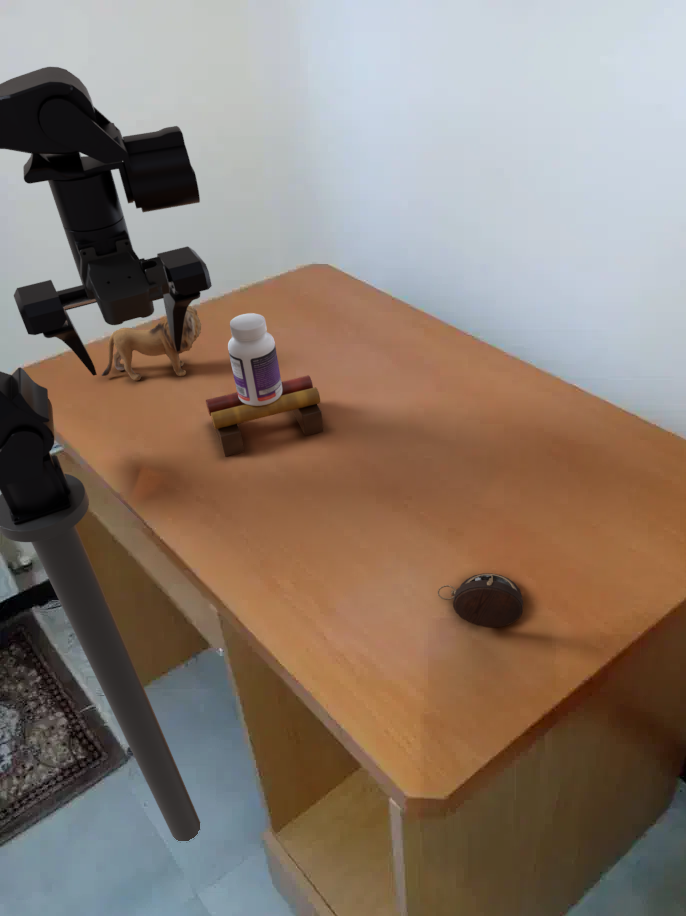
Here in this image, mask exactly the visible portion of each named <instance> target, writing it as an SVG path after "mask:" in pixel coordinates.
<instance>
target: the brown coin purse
mask: <svg viewBox="0 0 686 916" xmlns="http://www.w3.org/2000/svg"><path fill="white" fill-rule="evenodd" d="M446 587H447V588H451V589H452V590H450V596H452V597H448V598H447V597H443V596H441V594H440V591H441V590H442V589H443V588H446ZM437 596H438V597H439V598H440V599H442V600H444V601H450V600H452V601H453V603H452V604H453V606H452V607H453V609H454V611H455V613H456V614H457V615H458V616H459V617H460V618H461V619H462V620H464V621H466V622H467V623H470V624H472V625H475V626H478V627H484V628H498V627H505V626H508V625H511V624H513V623H515V622H516V621H518V620H519V619H520V618H521V617H522V615H523V611H524V610H523V609H524V600H523V594H522V592H521V589H520V588H519V586H518V585H517V584H516V583H515V582H514V581H513V580H511V579H510V578H508V577H506V576H503V575H501V574H497V573H492V572H491V573H489V572H488V573H487V572H486V573H479V574H474V575H472V576H470V577H469V578H466V579H465V580H464V581H463V582H462V583H461V584H460V586H459V587H458V588H457V589H456V587H454V586H453V585H449V584H446V585H445V584H444V585H442V586H440V587H439V588H438V590H437Z"/></svg>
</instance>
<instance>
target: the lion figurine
mask: <svg viewBox="0 0 686 916" xmlns="http://www.w3.org/2000/svg"><path fill="white" fill-rule="evenodd" d="M202 324H203V323H202V322H201V319H200V316H199V314H198V309H197V308H196V307H193V306H191V305H189V306H188V308H187V311H186V315H185V319H184V325H183V333H182V341H181V349H180V351H178V352H176V350H175V348H174V345H173V342H172V339H171V336H170V332H169V326H168V321H167V316H166V317H164V319H163V320H159V322H158V323H157V324H156V325H155V326H154V327H153V328H151V329H150V328H149V329H136V328H132V327H121V328H119V329H116V330H114V331H113V332H112V333H111V335H110V337H109V339H108V347H107V348H108V364H107V367H106V368H105V369H104V371H103V372H102V373H101V376H102V377H106V376H109V374H110V372H111V370H112V366H113V364H114V368H115V370H117V371H125V372H126V373H127V374H128V375H129V377H130V379H132V380H133V381H136V382H137V381H140V380H141V379H142V374H140V373H136V372H135V371H134V370H133V368H132V362H133V352H134V351H135V352H138V353H139V354H142V355H143V356H148V357H158V356H163V355H166V356H167V358H168V359H169V360H170V362H171V365H172V368H173V371H174V373H175V374H176V375H177V376H178V377H184V376H185V375H186V374H187V371H186V370H185V369H182V367H183V366H184V364H185V363H184V361H183V360H181V357H180V354H183V353H185V352H189V351H191V349H192V347H193V344H194V343H195V341H197V339H198V338H199V337H200V334H201V331H202V326H203V325H202ZM114 346H115V348H116V352H115V353H114ZM121 360H122V361H123V363H121Z"/></svg>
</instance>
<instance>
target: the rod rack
mask: <svg viewBox="0 0 686 916" xmlns="http://www.w3.org/2000/svg"><path fill="white" fill-rule="evenodd" d="M281 382H282V394H281V396H280V397H279V398H278V399H277V400H276V401H274V402H272V403H270V404H267V405H262V406H251V405H247V404H245V403H243V402H242V401H241V400H240V399H239V397H238V394H237V391H236V392H233V393H229V394H224V395H220V396H215V397H213V398H207V399H205V405H206V409H207V412H208V415H209V417H210V418H211V423H212V427H213V429H214V432H215V434H216V437H217V439H218V443H219V444H220V447H221V449H222V453H223V455H224V457H225V458H226V457H229V456H233V455H238V454H241V453H244V452H245V447H244V441H243V437H242V431H241V430H240V427H239V425H238V424H242V423H246V422H250V421H254V420H259V419H263V418H266V417H271V416H275V415H279V414H283V413H286V412H290V411H291V412H292V414H293V416H294V418H295V420H296V422H297V423H298V426H299V427H300V429H301V431H302V433H303V435H304V436H305V437H307V436H310V435H315V434H318V433H323V432H324V430H325V429H324V422H323V415H322V410H321V408H320V406H319V404H321V396H320V392H319V390H318V387H315V386H314V385H313V380H312V378H311V376H310V374H308V375H304V376H299V377H295V378H291V379H287V380H281ZM313 386H314V387H313Z"/></svg>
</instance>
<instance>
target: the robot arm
mask: <svg viewBox="0 0 686 916" xmlns="http://www.w3.org/2000/svg"><path fill="white" fill-rule="evenodd" d="M91 97H92V96H91V95H90V93H89V90H88V88H87V86H86V85H85V84H84V83H83V82H82V80H81V79H80V78H79V77H78V76H76V75H75V74H74V73H72V72H71V71H69V70H68V69H65V68H62V67H59V66H45V67H41V68H38V69H35V70H32V71H30V72H27V73H24V74H21V75H17V76H15V77H12V78H9V79H8V80H5V81H3V82H1V83H0V150H8V151H14V152H19V153H26V154H30V157H29V158H28V160H27V161H26V162H25V164H24V165H23V181H24V182H25V183H26V184H36V183H42V182H47V183H48V185H49V188H50V191H51V194H52V197H53V201H54V203H55V206H56V209H57V213H58V215H59V218H60V222H61V225H62V228H63V230H64V235H65V237H66V240H67V243H68V245H69V248H70V251H71V254H72V257H73V260H74V263H75V266H76V270H77V272H78V277H79V279H80V280H81V281H80V282H81V284H80V285H75V286H73V287H68V288H65V289H60V290H56V287H55V285H54V282H53V281H52V279H48V280H44V281H40V282H36V283H32V284H28V285H24V286H20V287H16V289H15V291H14V294H13V298H14V301H15V304H16V306H17V309H18V312H19V315H20V317H21V320H22V322H23V325H24V328H25V330H26V332H27V335H31V336H37V335H41V334H42V335H43V338H46V339H52V338H57V339H58V340H60V341H62V343H64V344H65V345H66V346H67V347H68V348H70V350H71V351H72V352H73V353H74V354H75V356H77V358H78V359H79V360H80V361H81V363H82V364H83V365H84V366H85V367H86V369H87V370H88V371H89V372H90V374H91V375H92V376H93V377H94V376H97V375H98V373H97V371H96V367H95V365H94V362H93V360H92V357H91V356H90V354H89V352H88V350H87V348H86V346H85V344H84V342H83V340H82V339H81V336H80V335H79V333H78V331H77V329H76V326H75V325H74V323H73V321H72V320H71V319H72V318H71V317H70V314H69V313H68V310H73V309H77V308H81V307H84V306H88V305H92V304H97V306H98V308H99V310H100V312H101V315H102V318H103V321H104V322H105V323H106V324H107V325H110V326H119V325H122V324H123V323H124V322H128V321H132V320H135V319H139V318H142V319H145V318H148V317H151V316H152V315H153V314H154V312H155V306H154V301H159V300H162V299H163V304H164V310H165V316H166V317H167V321H168V326H169V332H170V336H171V339H172V342H173V345H174V348H175V350H176V352H178V351H180V349H181V341H182V333H183V325H184V319H185V315H186V311H187V308H188V306H190V305H191V304H192V302H193V301H196V300H198V299H199V298H201V292H204V291H207V290H209V289H211V288H212V286H213V284H212V280H211V276H210V271H209V269H208V266H207V264H206V262H205V261H204V260H203V259H202V257H201V256H200V255H199V254H198V253H197V252H196V250H195V249H193V248H191V247H190V246H183V247H178V248H175V249H170V250H168V251H163V252H159V253H157V254H156V256H155V257H151V258H146V259H145V257H142V258H139V256H138V254H137V253H136V252H135V250H134V248H133V244H132V241H131V237H130V233H129V229H128V226H127V222H126V218H125V216H124V212H123V208H122V204H121V201H120V197H119V194H118V189H117V186H116V182H115V179H114V176H113V172H112V171H113V170H115V171H116V170H118V173H119V176H120V180H121V184H122V187H123V191H124V194H125V198H126V201H127V204H133V203H134V205H135V209H141V212H142V213H148V212H155V211H159V210H167V209H171V208H176V207H181V206H187V205H193V204H199V203H201V197H200V191H199V185H198V180H197V176H196V172H195V170H194V168H193V166H192V164H191V160H190V157H189V153H188V150H187V149H188V148H187V146H186V143H185V138H184V133H183V132H182V130H181V128H180V127H179V126H178V125H173V126H167V127H163V128H162V129H159V130H156V131H150V132H143V133H137V134H131V135H130V134H129V135H125V136H123V135H122V133H121V130H120V129H119V128H118V127H117V126H116V125H115V123H114V122H112V121H111V120H110V119H108V117H106V116H105V115H104V114H103V113H102V112H101V111H100V110H98V109H97V108H96V106H94V104H93V100H92V98H91ZM81 154H82V155H84V156H82V155H81ZM53 409H54V408H53V404H52V402H51V399H50V398H49V391H48V388H47V387H44V386H41V385H40V384H38V383H37V382H35V381H34V380H33V378H31V376H30V375H29V374H28V372H27V371H25V369H23V368H22V367H20V366H19V367H18V368H16V370H15V371H14V372H12V374H10V373H6V372H3V371H1V370H0V494H2V495H3V497H4V499H5V501H6V504H7V506H8V508H9V511H10V515H11V519H12V522H13V524H14V525H19V524H22V523H25V522H28V521H31V520H34V519H37V518H40V517H43V516H47V515H50V514H53V513H56V512H59V511H62V510H65V509H68V508H70V507H71V503H70V500H69V497H68V494H70V493H71V491H70V488H69V485H68V482H67V479H66V477H65V474H66V473H65V472H64V470H63V467H62V465H61V462H60V459H59V457H58V455H56V454H53V455H52V454H51V451H52V449H53V448H54V445H55V426H54V425H55V423H54V410H53Z"/></svg>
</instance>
